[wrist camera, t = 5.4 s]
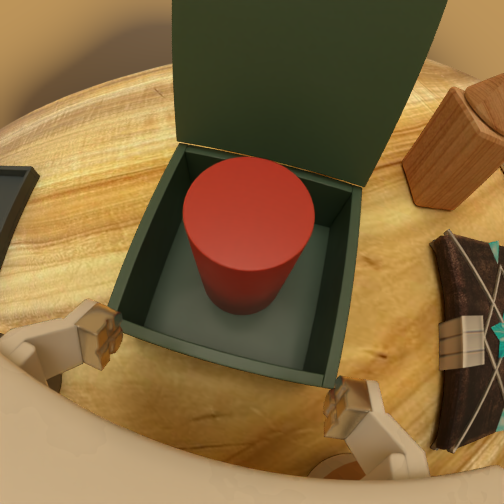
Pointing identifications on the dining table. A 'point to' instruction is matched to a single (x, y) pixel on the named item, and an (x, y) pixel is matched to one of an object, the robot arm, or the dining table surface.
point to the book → (470, 339)
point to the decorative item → (458, 146)
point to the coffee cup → (338, 468)
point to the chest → (254, 325)
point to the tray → (13, 200)
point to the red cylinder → (247, 230)
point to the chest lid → (299, 77)
